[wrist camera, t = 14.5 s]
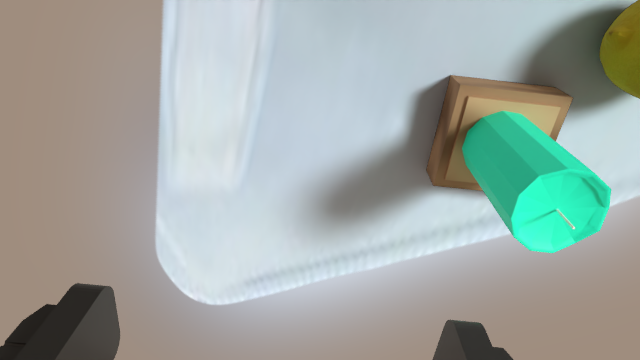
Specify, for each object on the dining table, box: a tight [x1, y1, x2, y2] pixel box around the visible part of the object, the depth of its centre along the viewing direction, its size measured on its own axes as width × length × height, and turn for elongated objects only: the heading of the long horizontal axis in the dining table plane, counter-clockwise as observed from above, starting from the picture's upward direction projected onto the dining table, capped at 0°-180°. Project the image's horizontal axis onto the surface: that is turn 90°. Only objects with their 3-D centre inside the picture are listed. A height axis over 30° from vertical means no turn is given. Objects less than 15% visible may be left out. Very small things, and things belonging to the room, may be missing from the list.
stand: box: [426, 75, 573, 191], centre depth 36 cm, size 9×9×3 cm
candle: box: [462, 111, 611, 253], centre depth 29 cm, size 6×6×12 cm
